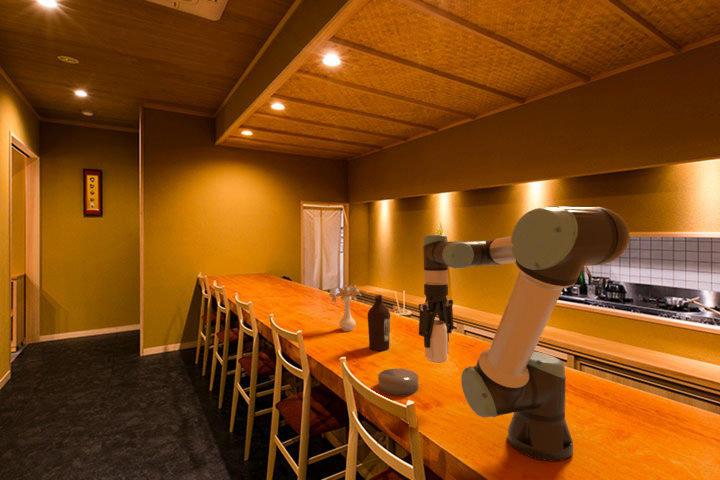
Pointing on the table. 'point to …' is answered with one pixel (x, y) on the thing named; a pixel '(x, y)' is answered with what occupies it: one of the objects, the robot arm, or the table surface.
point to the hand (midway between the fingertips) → (437, 354)
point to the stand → (398, 382)
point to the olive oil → (379, 326)
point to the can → (439, 342)
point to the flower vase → (346, 305)
